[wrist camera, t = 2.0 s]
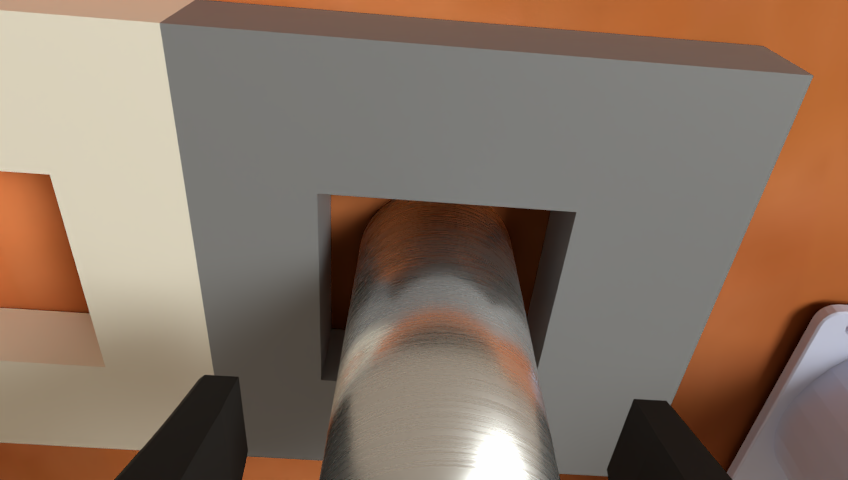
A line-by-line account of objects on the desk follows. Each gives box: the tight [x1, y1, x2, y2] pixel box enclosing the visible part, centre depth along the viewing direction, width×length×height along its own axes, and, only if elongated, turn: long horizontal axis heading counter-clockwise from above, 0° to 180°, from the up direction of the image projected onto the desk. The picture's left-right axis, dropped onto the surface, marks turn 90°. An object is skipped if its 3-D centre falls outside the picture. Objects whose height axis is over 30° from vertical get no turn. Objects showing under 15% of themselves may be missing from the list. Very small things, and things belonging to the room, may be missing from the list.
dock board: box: [0, 0, 813, 476], centre depth 15 cm, size 24×12×2 cm, turn 86°
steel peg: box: [319, 199, 560, 480], centre depth 13 cm, size 4×4×8 cm
